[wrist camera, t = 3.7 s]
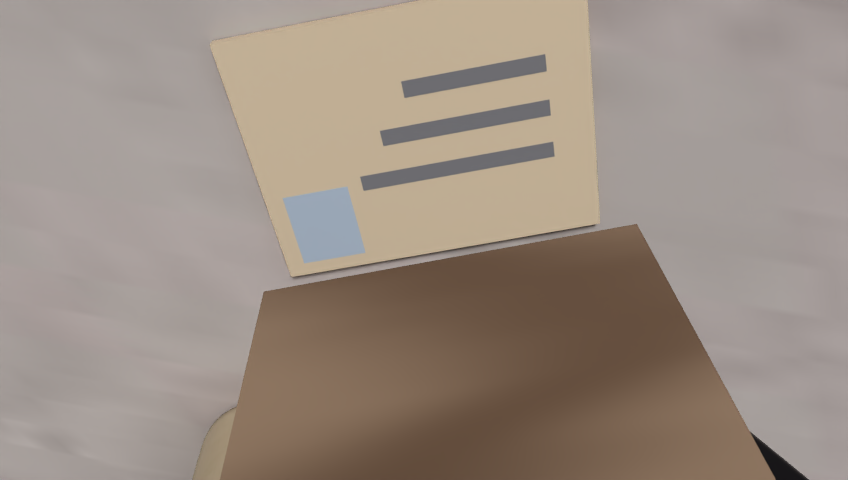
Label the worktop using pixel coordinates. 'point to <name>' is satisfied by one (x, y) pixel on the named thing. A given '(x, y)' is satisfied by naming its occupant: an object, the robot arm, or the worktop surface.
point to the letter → (417, 127)
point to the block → (489, 374)
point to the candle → (215, 448)
